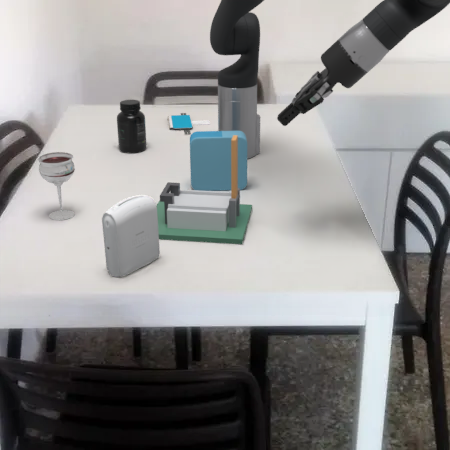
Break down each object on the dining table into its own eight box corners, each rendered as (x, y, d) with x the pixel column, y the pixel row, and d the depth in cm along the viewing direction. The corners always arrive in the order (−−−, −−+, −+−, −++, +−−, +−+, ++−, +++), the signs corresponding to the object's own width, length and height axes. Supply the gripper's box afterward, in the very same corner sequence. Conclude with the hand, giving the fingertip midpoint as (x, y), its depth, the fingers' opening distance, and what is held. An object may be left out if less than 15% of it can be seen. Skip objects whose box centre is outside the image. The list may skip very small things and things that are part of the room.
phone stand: (213, 135, 192) (213, 129, 191) (168, 137, 190) (167, 131, 190) (206, 114, 210) (206, 109, 209) (165, 116, 208) (165, 110, 208)
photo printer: (119, 280, 120) (114, 212, 115) (102, 272, 122) (96, 205, 117) (163, 258, 127) (160, 193, 122) (146, 251, 129) (142, 186, 124)
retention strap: (238, 198, 138) (238, 135, 133) (236, 204, 136) (236, 140, 130) (232, 198, 138) (232, 135, 133) (230, 204, 136) (230, 140, 130)
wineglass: (41, 211, 146) (34, 154, 141) (75, 206, 148) (69, 150, 143) (47, 224, 140) (40, 165, 135) (82, 218, 142) (76, 160, 137)
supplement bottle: (143, 143, 184) (140, 97, 179) (149, 152, 178) (146, 104, 173) (116, 146, 182) (113, 99, 177) (121, 155, 176) (118, 106, 171)
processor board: (252, 209, 146) (252, 177, 143) (242, 244, 132) (242, 210, 129) (160, 204, 148) (158, 173, 146) (140, 238, 134) (138, 204, 131)
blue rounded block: (245, 182, 159) (245, 130, 154) (247, 190, 155) (247, 136, 150) (191, 183, 159) (189, 131, 154) (191, 191, 155) (189, 137, 150)
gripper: (340, 30, 128) (269, 97, 134) (340, 45, 116) (262, 117, 123) (368, 61, 129) (296, 125, 136) (371, 79, 117) (293, 148, 124)
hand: (280, 121), depth 129 cm, fingers closed
